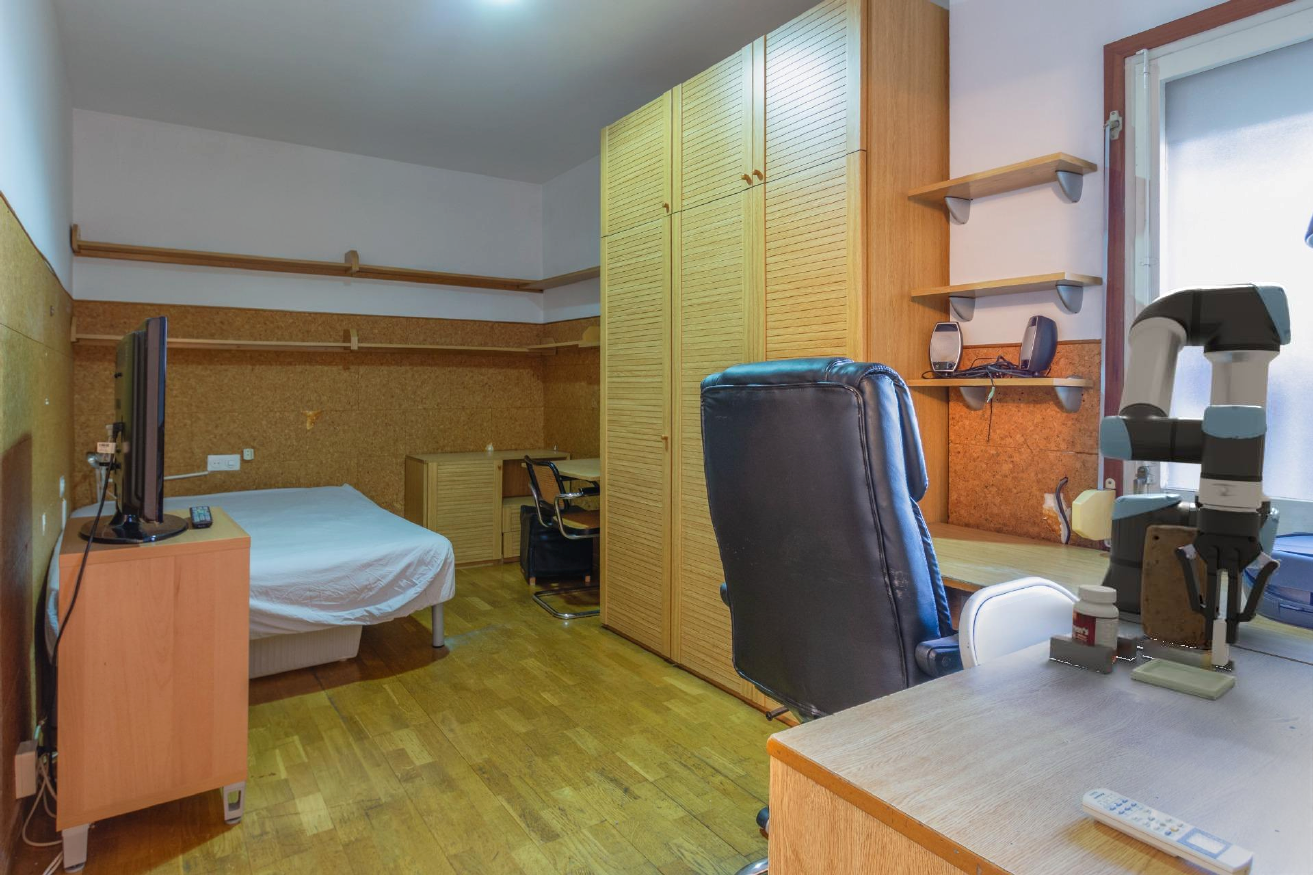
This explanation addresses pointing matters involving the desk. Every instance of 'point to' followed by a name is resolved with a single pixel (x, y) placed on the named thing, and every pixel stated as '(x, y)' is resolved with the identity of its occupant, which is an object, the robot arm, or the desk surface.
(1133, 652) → the socket
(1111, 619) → the pill bottle
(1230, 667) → the rail
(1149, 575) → the block
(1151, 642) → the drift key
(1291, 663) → the desk surface
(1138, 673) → the tray
